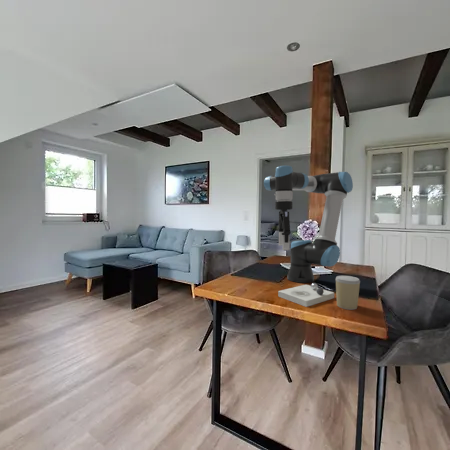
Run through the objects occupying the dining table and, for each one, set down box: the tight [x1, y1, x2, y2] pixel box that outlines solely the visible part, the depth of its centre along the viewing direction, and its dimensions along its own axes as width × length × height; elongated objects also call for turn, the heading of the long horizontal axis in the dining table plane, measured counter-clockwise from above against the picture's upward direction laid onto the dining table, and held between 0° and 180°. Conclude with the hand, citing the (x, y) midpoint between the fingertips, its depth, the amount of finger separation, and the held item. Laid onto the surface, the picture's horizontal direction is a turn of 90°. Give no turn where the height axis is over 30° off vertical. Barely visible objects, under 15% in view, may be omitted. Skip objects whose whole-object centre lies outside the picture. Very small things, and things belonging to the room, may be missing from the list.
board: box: [277, 284, 335, 308], centre depth 119 cm, size 20×16×2 cm
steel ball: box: [310, 282, 319, 290], centre depth 122 cm, size 3×3×3 cm
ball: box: [317, 287, 324, 295], centre depth 115 cm, size 3×3×3 cm
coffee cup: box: [335, 275, 361, 311], centre depth 107 cm, size 9×9×12 cm
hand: (283, 247), depth 117 cm, fingers open, 13 cm apart
